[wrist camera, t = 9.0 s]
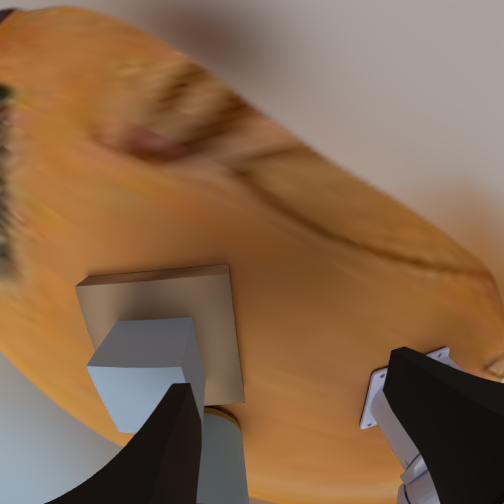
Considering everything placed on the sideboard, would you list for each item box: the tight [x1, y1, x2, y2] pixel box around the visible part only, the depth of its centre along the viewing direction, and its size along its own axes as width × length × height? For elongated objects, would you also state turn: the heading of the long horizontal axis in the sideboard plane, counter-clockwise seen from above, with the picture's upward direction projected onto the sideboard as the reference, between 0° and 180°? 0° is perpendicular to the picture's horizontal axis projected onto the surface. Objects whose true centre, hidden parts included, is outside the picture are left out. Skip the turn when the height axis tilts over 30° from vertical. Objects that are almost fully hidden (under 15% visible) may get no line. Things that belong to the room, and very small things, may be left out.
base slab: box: [75, 264, 245, 406], centre depth 17 cm, size 10×10×2 cm
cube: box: [86, 317, 206, 433], centre depth 14 cm, size 5×5×5 cm
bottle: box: [196, 407, 249, 504], centre depth 14 cm, size 7×7×15 cm
